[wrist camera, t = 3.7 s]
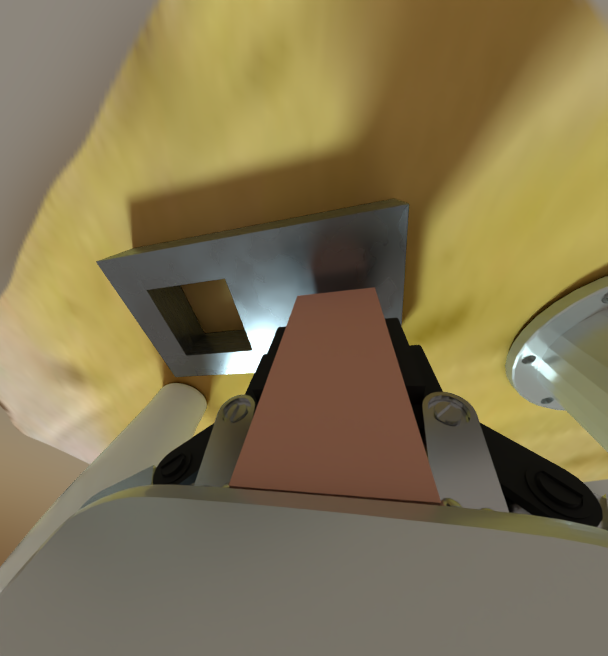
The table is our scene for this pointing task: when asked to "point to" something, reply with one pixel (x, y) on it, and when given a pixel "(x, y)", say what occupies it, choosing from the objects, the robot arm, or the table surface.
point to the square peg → (336, 410)
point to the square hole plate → (259, 280)
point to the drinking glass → (119, 462)
